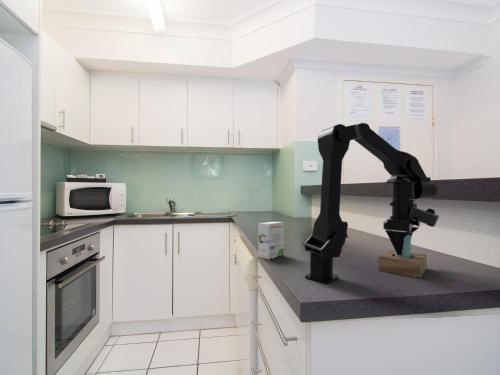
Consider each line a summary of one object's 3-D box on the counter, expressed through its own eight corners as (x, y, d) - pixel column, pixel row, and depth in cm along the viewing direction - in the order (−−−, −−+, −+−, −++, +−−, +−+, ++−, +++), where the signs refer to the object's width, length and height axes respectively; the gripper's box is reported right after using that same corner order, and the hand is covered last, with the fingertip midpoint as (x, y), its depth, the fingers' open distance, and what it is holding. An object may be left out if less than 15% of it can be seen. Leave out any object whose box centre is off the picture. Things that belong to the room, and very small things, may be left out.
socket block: (420, 278, 66) (420, 263, 66) (378, 270, 73) (378, 256, 73) (426, 268, 75) (426, 255, 75) (389, 262, 82) (389, 249, 82)
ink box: (273, 253, 92) (273, 220, 92) (284, 255, 89) (284, 222, 89) (257, 257, 86) (257, 222, 86) (268, 260, 83) (268, 223, 83)
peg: (409, 272, 71) (409, 237, 72) (393, 269, 74) (393, 235, 74) (412, 269, 74) (412, 235, 74) (396, 266, 77) (396, 233, 77)
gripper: (432, 200, 62) (432, 264, 62) (440, 199, 76) (440, 251, 76) (383, 199, 70) (382, 256, 69) (398, 198, 84) (398, 246, 83)
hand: (402, 252), depth 74 cm, fingers open, 9 cm apart
